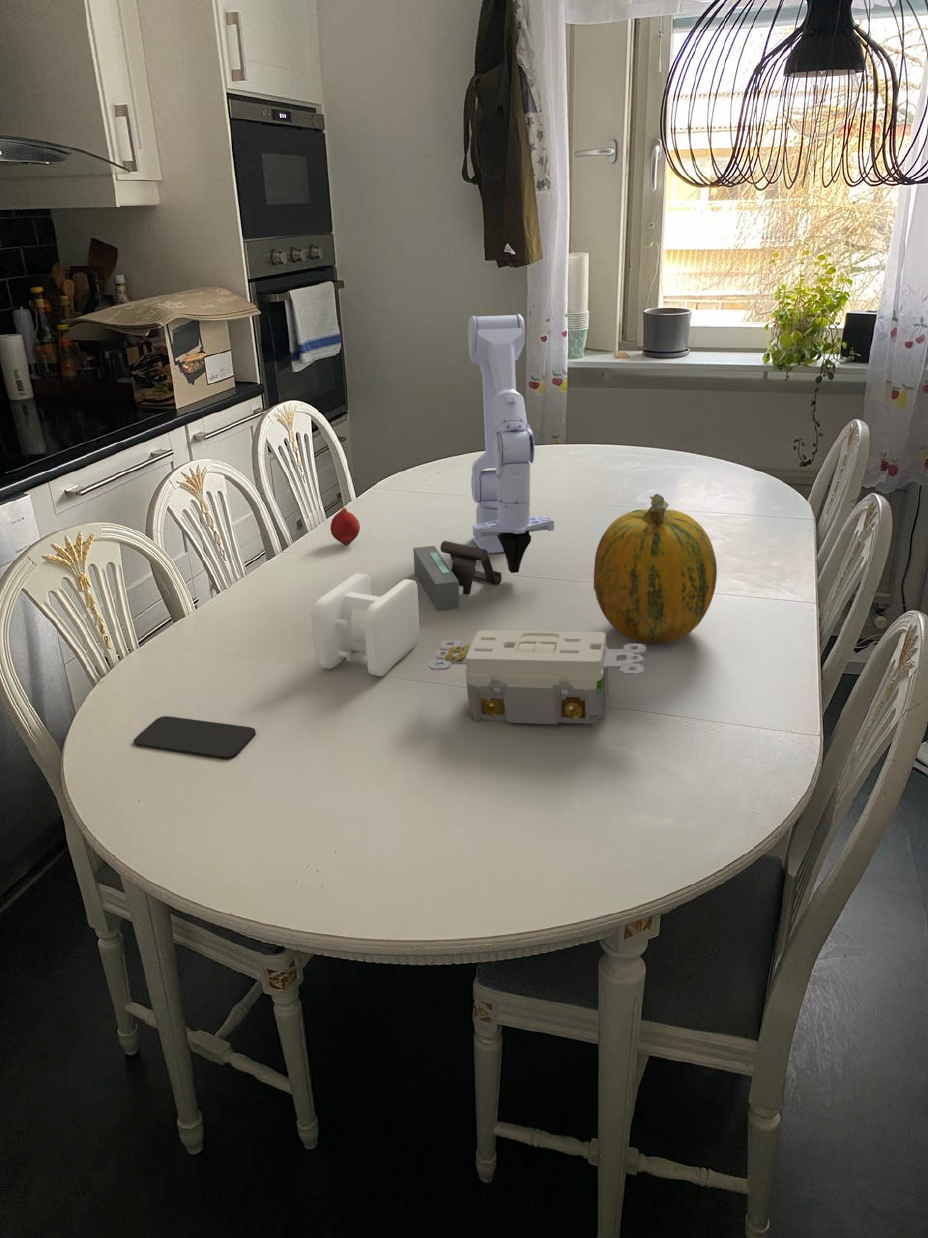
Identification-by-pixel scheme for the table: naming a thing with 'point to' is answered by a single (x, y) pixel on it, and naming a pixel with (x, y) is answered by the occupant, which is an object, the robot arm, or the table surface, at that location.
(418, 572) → the charging dock
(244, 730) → the phone
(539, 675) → the electrical outlet
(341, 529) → the onion
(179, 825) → the table surface
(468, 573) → the portable electronic device stand
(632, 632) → the pumpkin
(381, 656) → the cable organizer
